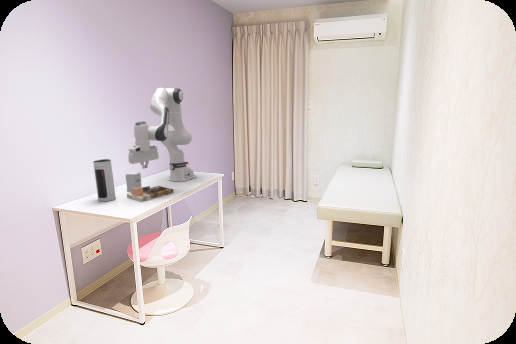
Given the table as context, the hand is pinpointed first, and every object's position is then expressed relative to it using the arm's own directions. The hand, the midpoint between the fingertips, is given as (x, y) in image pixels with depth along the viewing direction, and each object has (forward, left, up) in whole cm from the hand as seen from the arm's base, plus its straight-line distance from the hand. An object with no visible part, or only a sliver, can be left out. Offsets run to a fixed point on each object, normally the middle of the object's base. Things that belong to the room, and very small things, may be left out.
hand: (145, 168), depth 213 cm
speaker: (+20, -15, -19) cm, 32 cm away
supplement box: (-3, -20, -19) cm, 28 cm away
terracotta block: (+7, 0, -16) cm, 18 cm away
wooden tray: (-2, 0, -19) cm, 19 cm away
